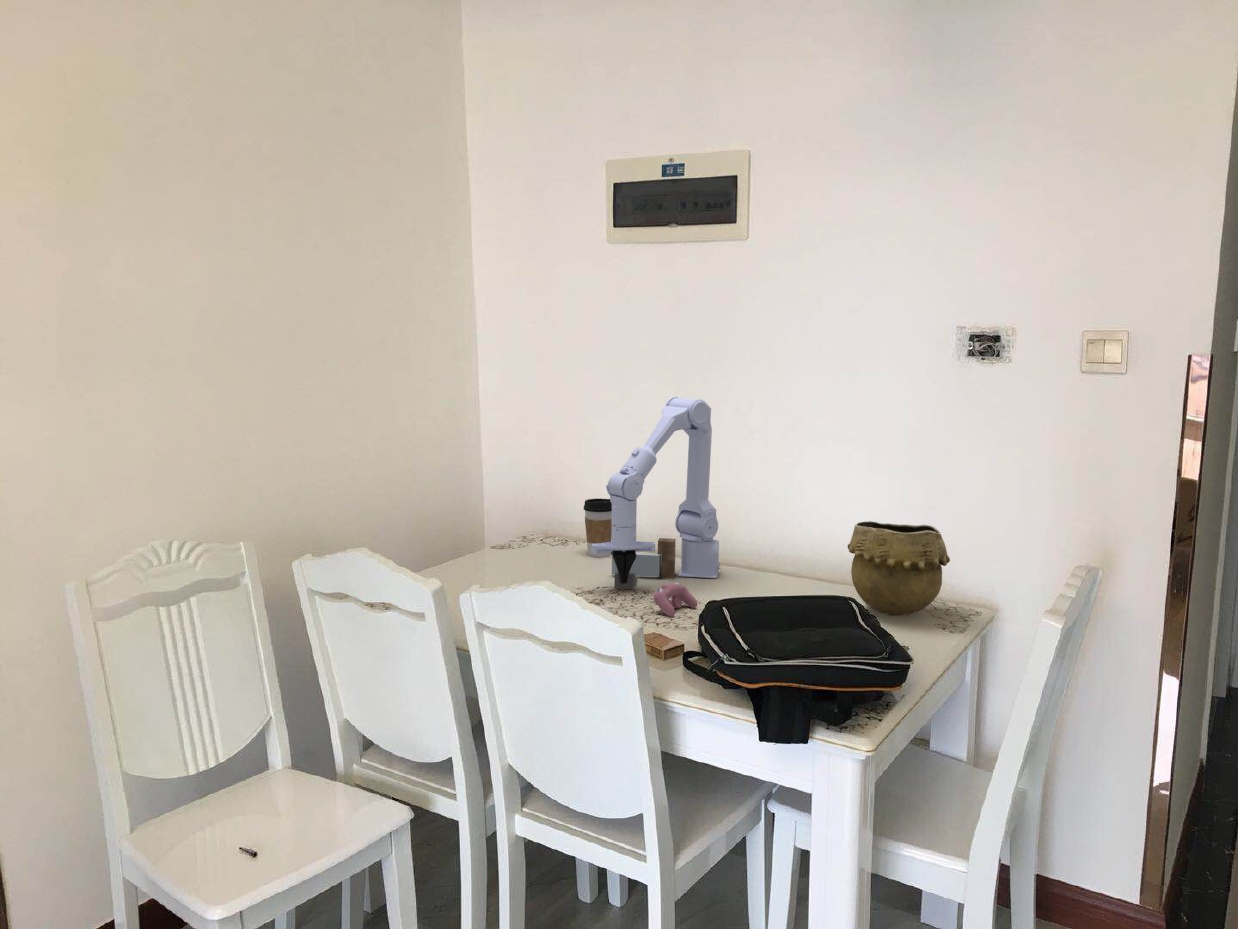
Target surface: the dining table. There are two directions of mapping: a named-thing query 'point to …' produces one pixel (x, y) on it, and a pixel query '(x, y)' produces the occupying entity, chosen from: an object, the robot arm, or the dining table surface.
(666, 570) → the door post
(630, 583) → the grey stepped block
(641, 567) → the door leaf
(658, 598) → the video game controller
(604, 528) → the coffee cup
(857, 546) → the clay pot
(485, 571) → the dining table surface
